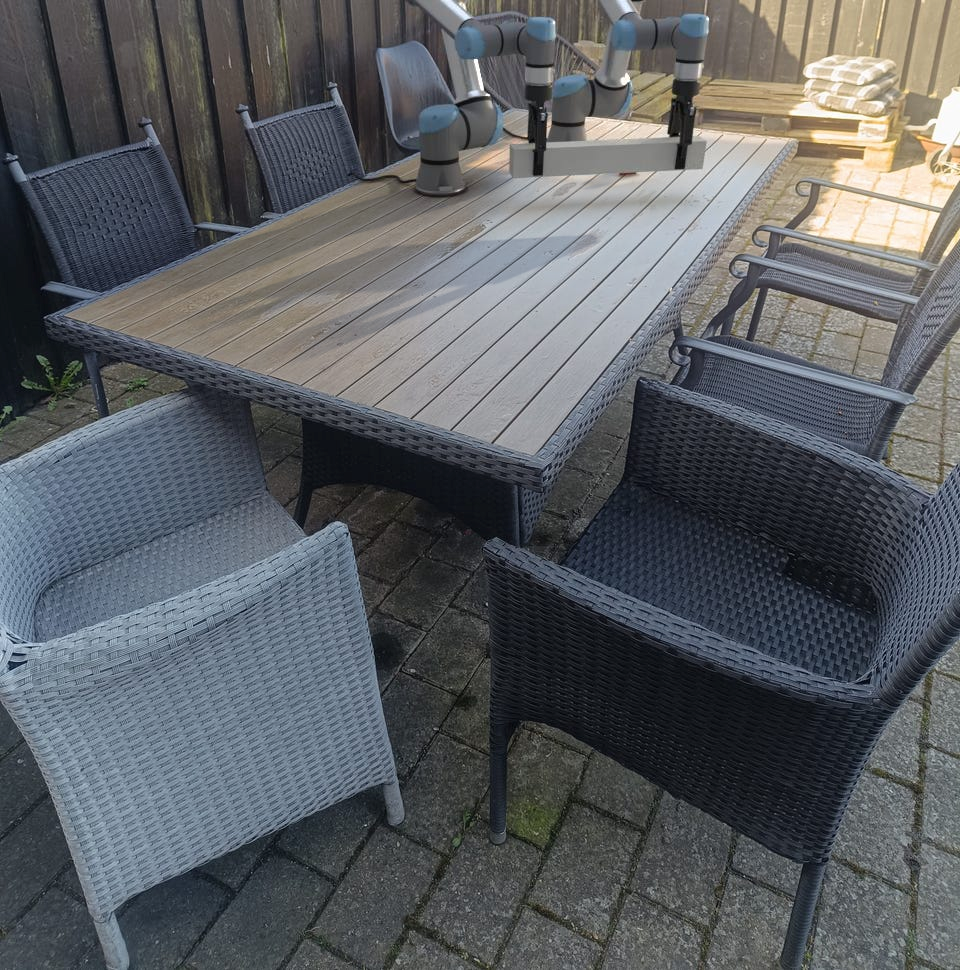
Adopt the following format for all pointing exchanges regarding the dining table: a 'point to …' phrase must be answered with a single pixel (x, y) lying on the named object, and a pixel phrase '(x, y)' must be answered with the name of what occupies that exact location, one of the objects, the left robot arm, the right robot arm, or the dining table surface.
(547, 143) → the beam
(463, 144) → the left robot arm
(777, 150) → the dining table surface
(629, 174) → the red rounded lump
